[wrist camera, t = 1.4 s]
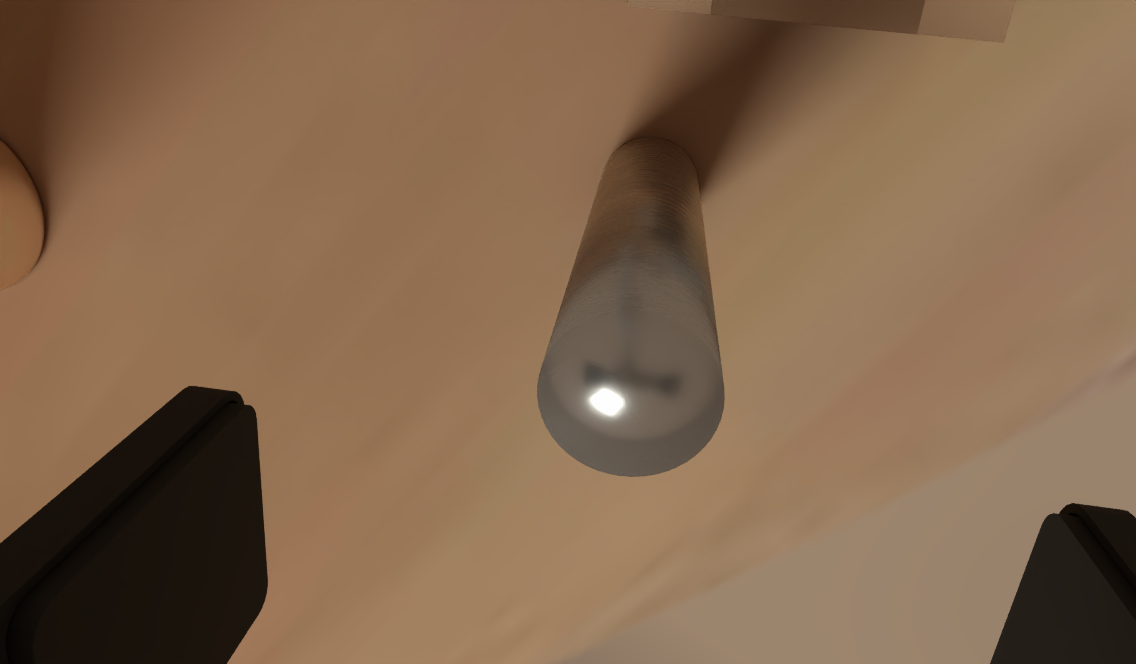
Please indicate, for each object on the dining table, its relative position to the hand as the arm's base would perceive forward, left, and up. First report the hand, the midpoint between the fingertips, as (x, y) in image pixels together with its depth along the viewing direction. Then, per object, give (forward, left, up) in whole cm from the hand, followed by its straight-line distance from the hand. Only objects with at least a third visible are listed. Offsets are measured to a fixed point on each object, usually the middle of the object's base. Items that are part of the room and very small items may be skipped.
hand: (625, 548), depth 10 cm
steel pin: (0, 0, -16) cm, 16 cm away
